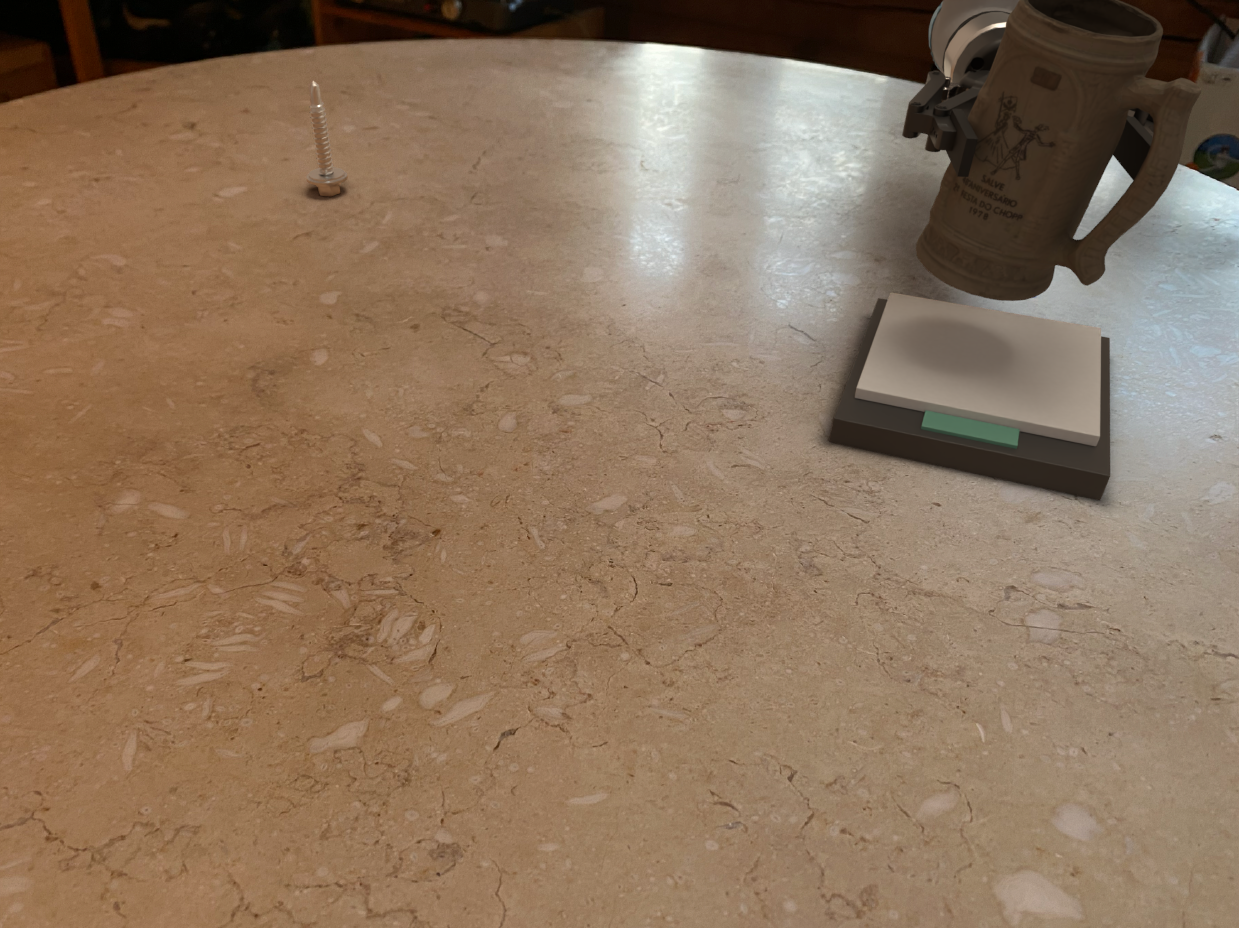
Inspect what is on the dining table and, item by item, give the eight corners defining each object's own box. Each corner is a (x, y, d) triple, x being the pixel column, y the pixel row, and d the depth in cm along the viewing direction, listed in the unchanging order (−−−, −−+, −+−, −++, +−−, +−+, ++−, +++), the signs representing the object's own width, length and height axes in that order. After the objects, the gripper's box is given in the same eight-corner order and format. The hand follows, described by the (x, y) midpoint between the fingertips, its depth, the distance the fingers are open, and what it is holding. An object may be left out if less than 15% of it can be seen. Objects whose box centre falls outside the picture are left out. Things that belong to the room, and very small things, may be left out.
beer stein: (880, 252, 83) (991, -8, 69) (949, 215, 89) (1065, -31, 74) (1049, 354, 76) (1212, 90, 62) (1112, 307, 82) (1273, 57, 68)
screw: (341, 201, 123) (303, 199, 123) (355, 186, 127) (317, 184, 127) (326, 88, 115) (284, 86, 115) (340, 75, 118) (300, 73, 119)
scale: (1098, 367, 93) (1113, 327, 90) (1097, 508, 77) (1115, 464, 74) (872, 326, 99) (880, 287, 96) (827, 449, 83) (835, 407, 80)
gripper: (1126, 122, 90) (1216, 222, 74) (848, 110, 93) (873, 205, 76) (1158, 30, 86) (1261, 115, 69) (863, 20, 88) (894, 99, 71)
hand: (1058, 162), depth 73 cm, fingers closed on beer stein, 11 cm apart
